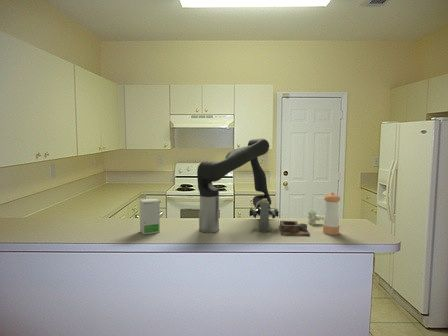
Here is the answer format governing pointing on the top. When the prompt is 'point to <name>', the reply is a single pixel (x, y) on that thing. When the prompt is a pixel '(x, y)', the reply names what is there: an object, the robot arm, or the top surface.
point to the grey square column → (264, 216)
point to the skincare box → (149, 216)
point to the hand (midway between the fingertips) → (264, 216)
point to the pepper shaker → (331, 215)
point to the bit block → (293, 228)
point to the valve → (314, 217)
